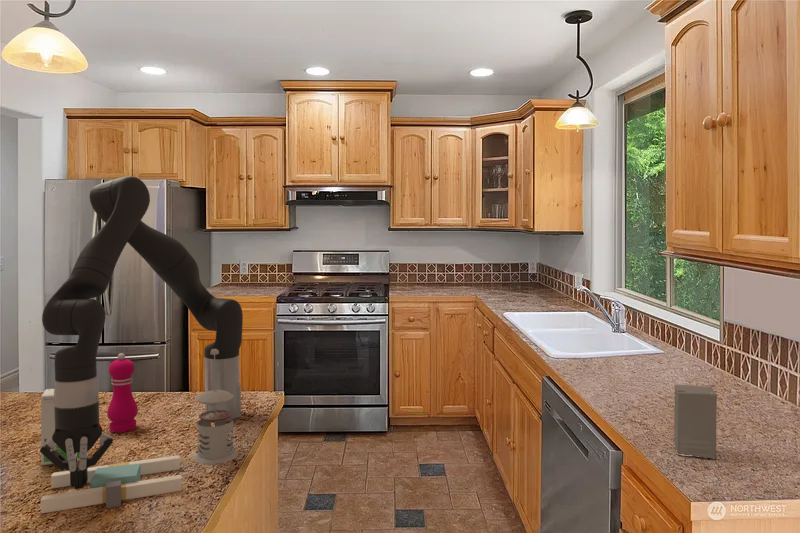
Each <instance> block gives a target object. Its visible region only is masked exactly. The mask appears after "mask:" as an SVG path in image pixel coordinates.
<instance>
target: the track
mask: <svg viewBox="0 0 800 533" xmlns="http://www.w3.org/2000/svg"><path fill="white" fill-rule="evenodd" d="M131 464H140V470H141V476H145V475H152V474H157V473H158V474H159V473H163V472H164V473H165V472H170V471H176V470H177V471H178V470H181V456H180V454H178V455H170V456H163V457H157V458H148V459H141V460H136V461H128V462H119V463H114V464H113V463H112V464H107V465H106V464H105V465H98V466H90V467H88V480H87V483H86V484H91V479H92V477H93V475H94V473H95V471H96V469H97V468H104V467H113V466H122V465H131ZM50 479H51V480H50V481H51V489H57V488H64V487H71V485H70V471H69V470H61V471H55V472H52V474H51V477H50ZM182 483H183V482H182V474H177V475H170V476H164V477H159V478H158V477H157V478H151V479H145V480H141V481H137V482H130V483H124V484H121V480H118V481H112V482H107V484H106V486H104V487H98V488H91V487H90V488H87V489H85V488H84V489H81V490H80V489H77V490H73V491H66V492H61V493H53V494H48V495H47V494H46V495H42V496H41V498H40V514H46V513H53V512H57V511H66V510H71V509H77V508H83V507H89V506H96V505H101V504H105V506H106V507H105V508H106V509H110V508H111V509H113V508H118V507H121V505H122V501H126V500H132V499H133V500H134V499H138V498H143V497H149V496H157V495H163V494H169V493H174V492H175V493H176V492H180V491H182V488H183V487H182V485H183V484H182Z"/></svg>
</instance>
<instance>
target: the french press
mask: <svg viewBox="0 0 800 533" xmlns="http://www.w3.org/2000/svg"><path fill="white" fill-rule="evenodd" d="M210 354H211V355H214V390H212V391H207V392H205V391H204V392H203V393H201V394H199V395H198V396H197V397H196V402H198V403H200V404H203V405H205V404H207V412H205V411H203V412H202V413H200V414H199V416H198V418H199V420H198V421H197V452H196V454H195V455H194V456H193V461H195V462H196V463H198V464H201V465H218V464H217V463H220V464H223V462H224V463H227V462H230V461H232V460H234V459H235V458H236V457H237V456H238V454H239V452H238V451H237V449H235V448H234V419H233V418H232V417H230V416H231V412H230V411H228V410H219V409H218V410H216V404H221V403H225V402H228V401H230V400H232V399H233V396H234V395H232V394H231V393H229V392H227V391H223V390H216V387H215V355H216V354H219V351H218V350H217V349H212V350H211V352H210ZM208 404H209V405H214V410H211V411H208ZM212 422H214V426H212ZM227 422H228V423H227ZM226 423H227V424H226ZM229 433H230V434H229Z"/></svg>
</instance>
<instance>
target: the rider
mask: <svg viewBox="0 0 800 533" xmlns="http://www.w3.org/2000/svg"><path fill="white" fill-rule="evenodd" d="M141 478H142V475H141V470H140V464H131V465H122V466H113V467H104V468H97V469H96V471H95V473H94V475H93V477H92V479H91V483H90V489H91V488H98V487H104V486H106V484H107V482H112V481H118V480H121V484H124V483H130V482H137V481H142V479H141Z"/></svg>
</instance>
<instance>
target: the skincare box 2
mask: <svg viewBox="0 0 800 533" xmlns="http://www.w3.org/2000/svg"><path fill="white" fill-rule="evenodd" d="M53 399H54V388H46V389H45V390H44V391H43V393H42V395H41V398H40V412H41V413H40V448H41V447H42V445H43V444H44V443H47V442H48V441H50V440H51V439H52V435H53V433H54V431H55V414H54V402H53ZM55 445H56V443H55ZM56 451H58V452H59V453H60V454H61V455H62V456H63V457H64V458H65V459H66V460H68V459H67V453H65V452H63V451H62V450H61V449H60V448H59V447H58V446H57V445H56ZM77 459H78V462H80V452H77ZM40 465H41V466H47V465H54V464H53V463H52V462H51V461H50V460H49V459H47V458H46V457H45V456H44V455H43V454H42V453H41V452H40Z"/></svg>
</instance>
